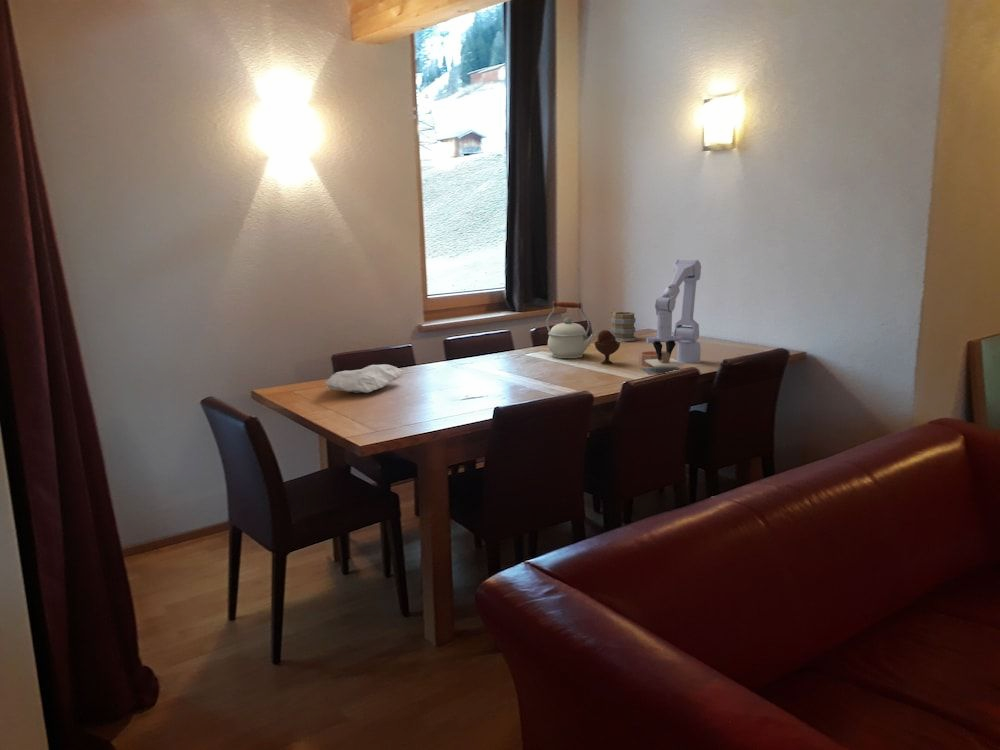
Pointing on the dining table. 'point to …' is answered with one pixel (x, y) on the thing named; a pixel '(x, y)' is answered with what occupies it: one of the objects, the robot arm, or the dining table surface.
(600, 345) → the ice cream bowl
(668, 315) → the robot arm
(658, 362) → the lid
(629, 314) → the tankard
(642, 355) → the bowl
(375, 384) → the crumpled cloth
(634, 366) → the dining table surface
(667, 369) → the mat
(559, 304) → the kettle
